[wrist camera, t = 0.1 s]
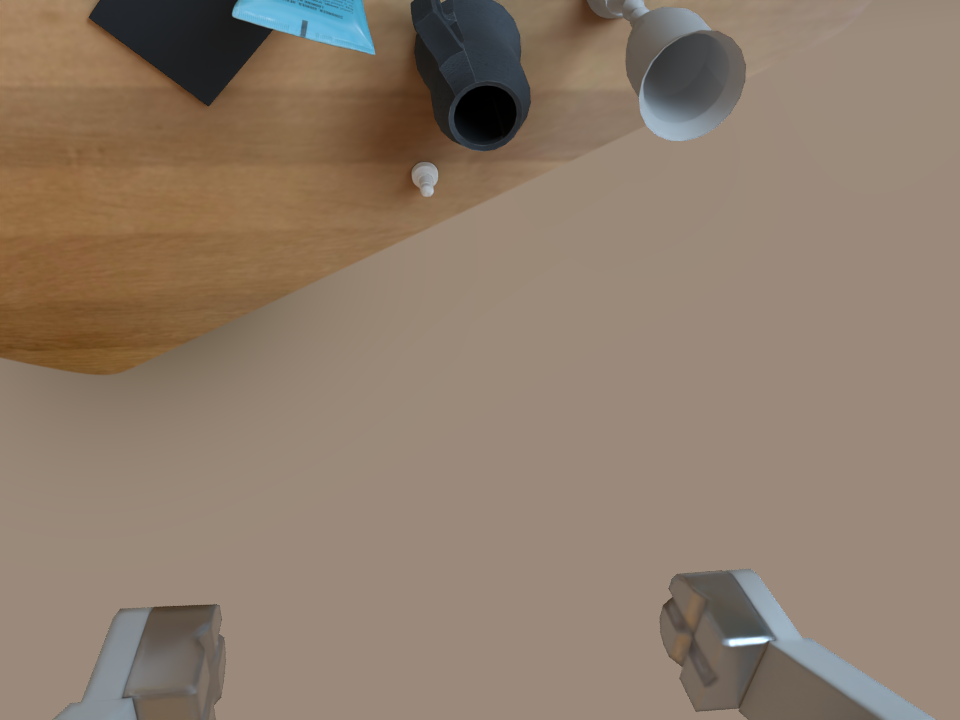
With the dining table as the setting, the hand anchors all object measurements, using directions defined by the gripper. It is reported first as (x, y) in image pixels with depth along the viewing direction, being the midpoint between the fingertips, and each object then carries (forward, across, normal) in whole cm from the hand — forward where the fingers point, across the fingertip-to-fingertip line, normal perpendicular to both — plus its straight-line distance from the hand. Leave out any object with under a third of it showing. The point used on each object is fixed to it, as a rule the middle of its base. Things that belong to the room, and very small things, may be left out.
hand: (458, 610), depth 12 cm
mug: (+53, -7, -7) cm, 54 cm away
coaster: (+53, +14, -7) cm, 55 cm away
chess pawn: (+57, -5, +5) cm, 57 cm away
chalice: (+51, -19, -12) cm, 56 cm away
